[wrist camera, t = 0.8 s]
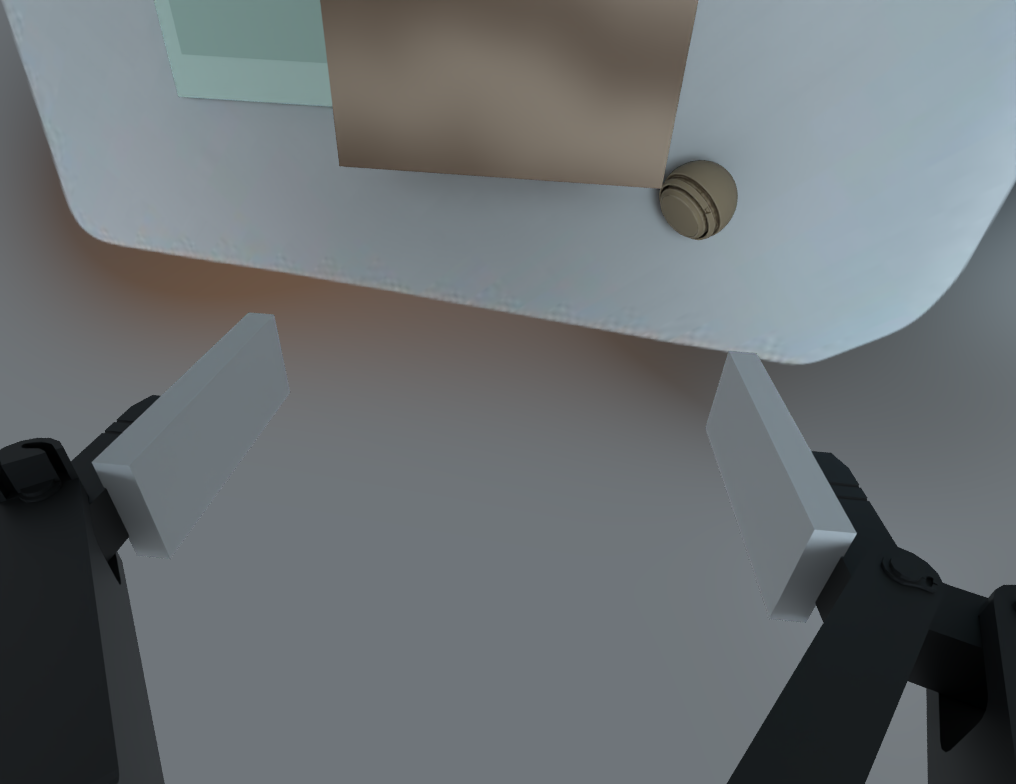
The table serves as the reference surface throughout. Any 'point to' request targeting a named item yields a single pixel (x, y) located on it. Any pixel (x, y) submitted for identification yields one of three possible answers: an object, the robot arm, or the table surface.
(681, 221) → the door knob
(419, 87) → the block
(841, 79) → the table surface
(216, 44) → the pad
